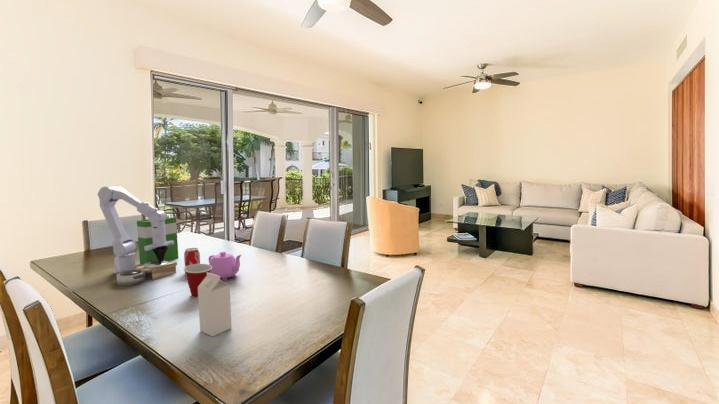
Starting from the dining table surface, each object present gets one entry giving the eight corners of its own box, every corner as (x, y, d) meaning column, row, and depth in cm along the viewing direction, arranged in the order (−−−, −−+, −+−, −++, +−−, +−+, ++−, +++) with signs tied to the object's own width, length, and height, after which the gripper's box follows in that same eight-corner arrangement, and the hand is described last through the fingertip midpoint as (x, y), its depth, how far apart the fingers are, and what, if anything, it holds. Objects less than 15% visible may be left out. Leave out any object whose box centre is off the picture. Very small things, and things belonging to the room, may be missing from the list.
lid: (138, 266, 171) (138, 262, 171) (159, 260, 181) (158, 257, 180) (153, 269, 167) (152, 265, 166) (173, 263, 176) (172, 259, 176)
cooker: (109, 283, 161) (108, 273, 161) (133, 276, 171) (132, 267, 170) (129, 288, 155) (128, 278, 154) (153, 280, 165) (152, 271, 164)
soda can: (194, 275, 173) (193, 251, 171) (182, 274, 174) (180, 250, 173) (203, 270, 180) (202, 247, 178) (191, 269, 181) (190, 247, 180)
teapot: (252, 275, 172) (251, 250, 171) (232, 284, 159) (231, 257, 158) (219, 271, 179) (218, 247, 178) (197, 279, 166) (196, 254, 164)
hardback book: (170, 256, 207) (168, 216, 205) (178, 258, 204) (175, 217, 201) (139, 263, 192) (136, 220, 189) (147, 265, 188) (144, 221, 186)
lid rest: (135, 276, 171) (134, 266, 171) (160, 268, 183) (159, 259, 182) (153, 279, 166) (152, 269, 165) (177, 272, 177) (177, 262, 177)
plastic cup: (201, 300, 140) (199, 271, 139) (179, 298, 143) (177, 269, 142) (219, 291, 151) (217, 264, 149) (198, 288, 154) (196, 262, 152)
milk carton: (219, 323, 121) (216, 269, 119) (231, 328, 117) (229, 273, 115) (199, 331, 115) (196, 275, 113) (212, 337, 111) (209, 279, 109)
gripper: (150, 238, 166) (152, 266, 168) (177, 232, 179) (179, 258, 181) (140, 237, 169) (142, 264, 171) (168, 231, 182) (169, 257, 184)
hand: (160, 261), depth 176 cm, fingers closed
